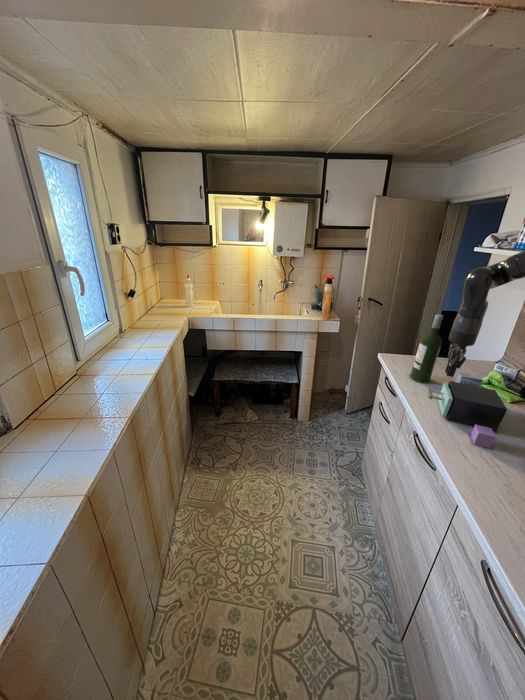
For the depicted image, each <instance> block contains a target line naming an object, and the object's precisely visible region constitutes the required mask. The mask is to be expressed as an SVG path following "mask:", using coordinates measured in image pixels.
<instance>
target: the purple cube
mask: <svg viewBox="0 0 525 700" xmlns="http://www.w3.org/2000/svg"><path fill="white" fill-rule="evenodd" d="M470 437H471V440H472V442H473V445H478V446H480V447H484V448H487V449H488V448H489V449H491V448H492V446H493V444H494V441H495V440H496V438H497V436H496V434H495V432H493V430H492V428H488V427H484V426H480V425H476V424H475V426H474V427H473V429H472V430H471V433H470Z"/></svg>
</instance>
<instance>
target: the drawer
mask: <svg viewBox="0 0 525 700" xmlns="http://www.w3.org/2000/svg"><path fill="white" fill-rule="evenodd" d="M448 384H449V383H447V382H443V383H442V387H441V389H440V391H438V390H433V389H432V388H427V389H426V391H427V396H428V399H429V400H433V399H435V400H437V401H438V406H439V410H440V413H441V416H442V417H444V418H446V415H447V413H448V411H449V412H450V409H451V407H452V404H453V402H454V399H455V398H454V395H453V393H452V390H451V389H449V386H448ZM434 394H437V395H438V396H434Z"/></svg>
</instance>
